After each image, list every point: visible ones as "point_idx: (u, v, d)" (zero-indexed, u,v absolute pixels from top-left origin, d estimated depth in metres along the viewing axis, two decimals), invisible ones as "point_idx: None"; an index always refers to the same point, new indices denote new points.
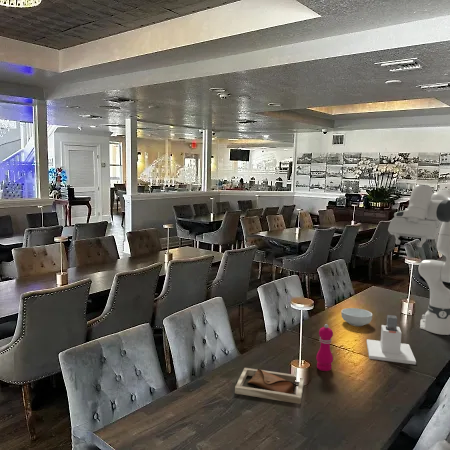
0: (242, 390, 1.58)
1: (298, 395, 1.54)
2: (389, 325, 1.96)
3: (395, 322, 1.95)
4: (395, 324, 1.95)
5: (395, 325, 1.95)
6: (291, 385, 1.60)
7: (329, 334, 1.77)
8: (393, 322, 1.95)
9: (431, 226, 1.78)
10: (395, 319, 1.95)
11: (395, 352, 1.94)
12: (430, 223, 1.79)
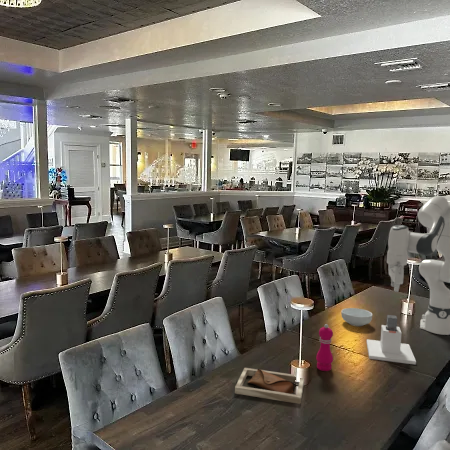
0: (242, 390, 1.58)
1: (298, 395, 1.54)
2: (389, 325, 1.96)
3: (395, 322, 1.95)
4: (395, 324, 1.95)
5: (395, 325, 1.95)
6: (291, 385, 1.60)
7: (329, 334, 1.77)
8: (393, 322, 1.95)
9: (394, 272, 1.86)
10: (395, 319, 1.95)
11: (395, 352, 1.94)
12: (394, 269, 1.87)
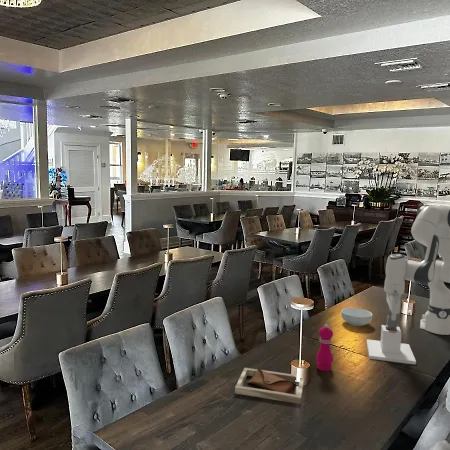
0: (242, 390, 1.58)
1: (298, 395, 1.54)
2: (389, 325, 1.96)
3: (395, 322, 1.95)
4: (395, 324, 1.95)
5: (395, 325, 1.95)
6: (291, 385, 1.60)
7: (329, 334, 1.77)
8: (393, 322, 1.95)
9: (391, 302, 1.88)
10: None
11: (395, 352, 1.94)
12: (391, 298, 1.89)
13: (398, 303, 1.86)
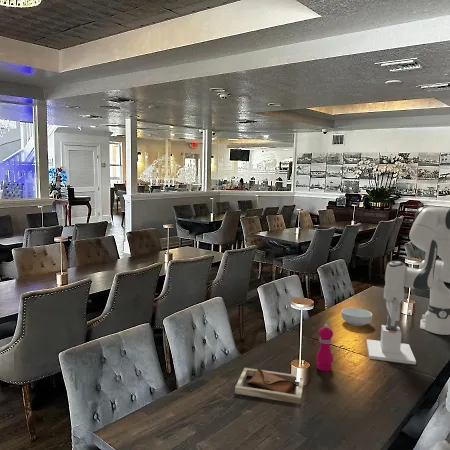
0: (242, 390, 1.58)
1: (298, 395, 1.54)
2: (389, 325, 1.96)
3: (395, 322, 1.95)
4: (395, 324, 1.95)
5: (395, 325, 1.95)
6: (291, 385, 1.60)
7: (329, 334, 1.77)
8: None
9: (391, 309, 1.89)
10: None
11: (395, 352, 1.94)
12: (391, 306, 1.89)
13: (398, 311, 1.87)
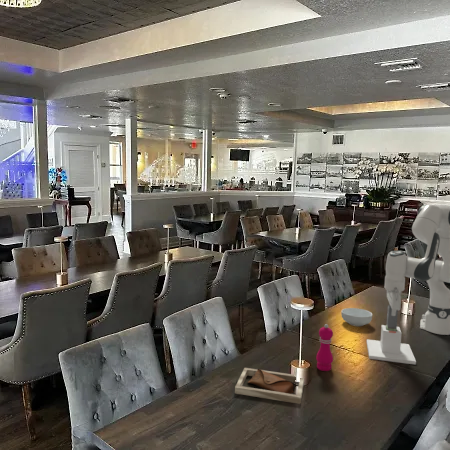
0: (242, 390, 1.58)
1: (298, 395, 1.54)
2: (390, 315, 1.95)
3: (396, 312, 1.94)
4: (396, 314, 1.94)
5: (396, 315, 1.94)
6: (291, 385, 1.60)
7: (329, 334, 1.77)
8: None
9: (391, 299, 1.88)
10: None
11: (395, 352, 1.94)
12: (392, 295, 1.88)
13: (398, 300, 1.86)
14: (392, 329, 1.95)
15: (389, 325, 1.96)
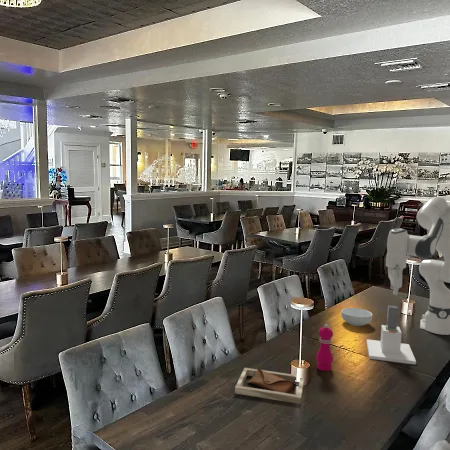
0: (242, 390, 1.58)
1: (298, 395, 1.54)
2: (390, 315, 1.95)
3: (396, 312, 1.94)
4: (396, 314, 1.94)
5: (396, 315, 1.94)
6: (291, 385, 1.60)
7: (329, 334, 1.77)
8: (393, 312, 1.94)
9: (393, 276, 1.87)
10: (396, 309, 1.94)
11: (395, 352, 1.94)
12: (393, 272, 1.87)
13: (400, 277, 1.85)
14: (392, 329, 1.95)
15: (389, 325, 1.96)
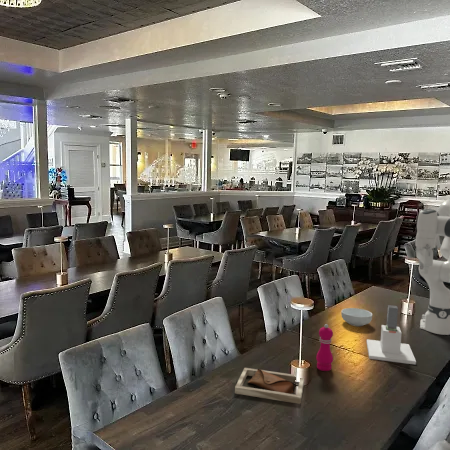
0: (242, 390, 1.58)
1: (298, 395, 1.54)
2: (390, 315, 1.95)
3: (396, 312, 1.94)
4: (396, 314, 1.94)
5: (396, 315, 1.94)
6: (291, 385, 1.60)
7: (329, 334, 1.77)
8: (393, 312, 1.94)
9: (424, 255, 1.92)
10: (396, 309, 1.94)
11: (395, 352, 1.94)
12: (424, 252, 1.92)
13: (431, 256, 1.89)
14: (392, 329, 1.95)
15: (389, 325, 1.96)
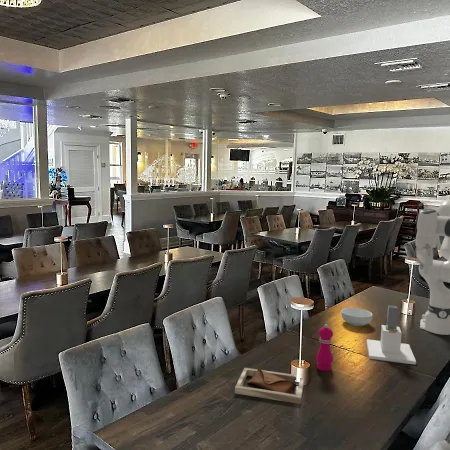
0: (242, 390, 1.58)
1: (298, 395, 1.54)
2: (390, 315, 1.95)
3: (396, 312, 1.94)
4: (396, 314, 1.94)
5: (396, 315, 1.94)
6: (291, 385, 1.60)
7: (329, 334, 1.77)
8: (393, 312, 1.94)
9: (424, 255, 1.92)
10: (396, 309, 1.94)
11: (395, 352, 1.94)
12: (424, 251, 1.92)
13: (431, 255, 1.89)
14: (392, 329, 1.95)
15: (389, 325, 1.96)
